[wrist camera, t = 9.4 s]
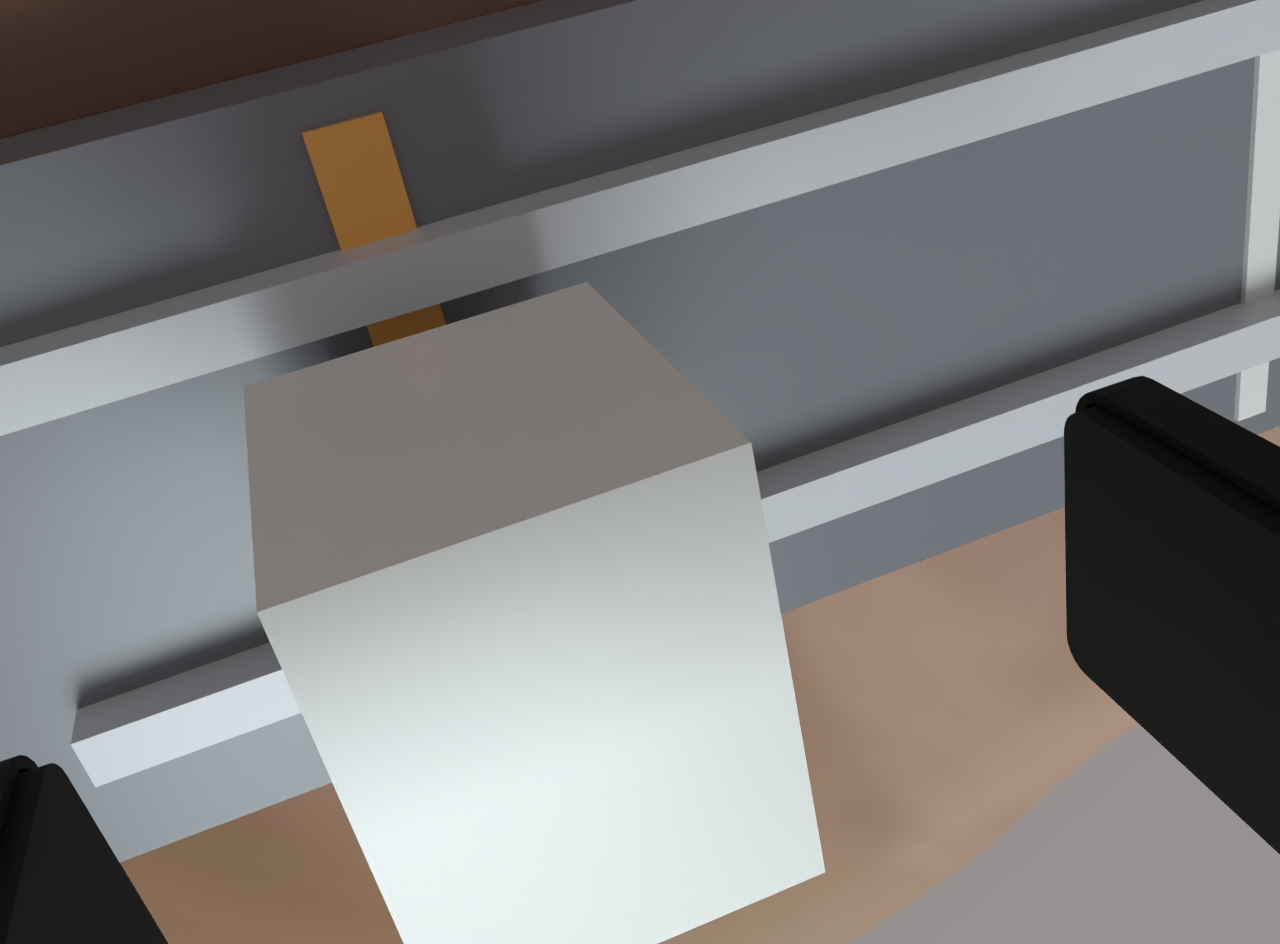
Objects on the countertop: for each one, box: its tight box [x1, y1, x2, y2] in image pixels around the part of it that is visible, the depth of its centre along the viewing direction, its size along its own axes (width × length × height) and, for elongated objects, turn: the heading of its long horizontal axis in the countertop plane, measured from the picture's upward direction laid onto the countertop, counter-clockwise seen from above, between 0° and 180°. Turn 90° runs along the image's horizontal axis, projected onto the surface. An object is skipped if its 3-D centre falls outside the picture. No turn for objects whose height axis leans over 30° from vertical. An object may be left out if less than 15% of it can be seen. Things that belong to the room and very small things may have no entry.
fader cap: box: [243, 282, 825, 944], centre depth 13 cm, size 4×5×7 cm
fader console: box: [0, 0, 1280, 862], centre depth 18 cm, size 28×10×3 cm, turn 102°
